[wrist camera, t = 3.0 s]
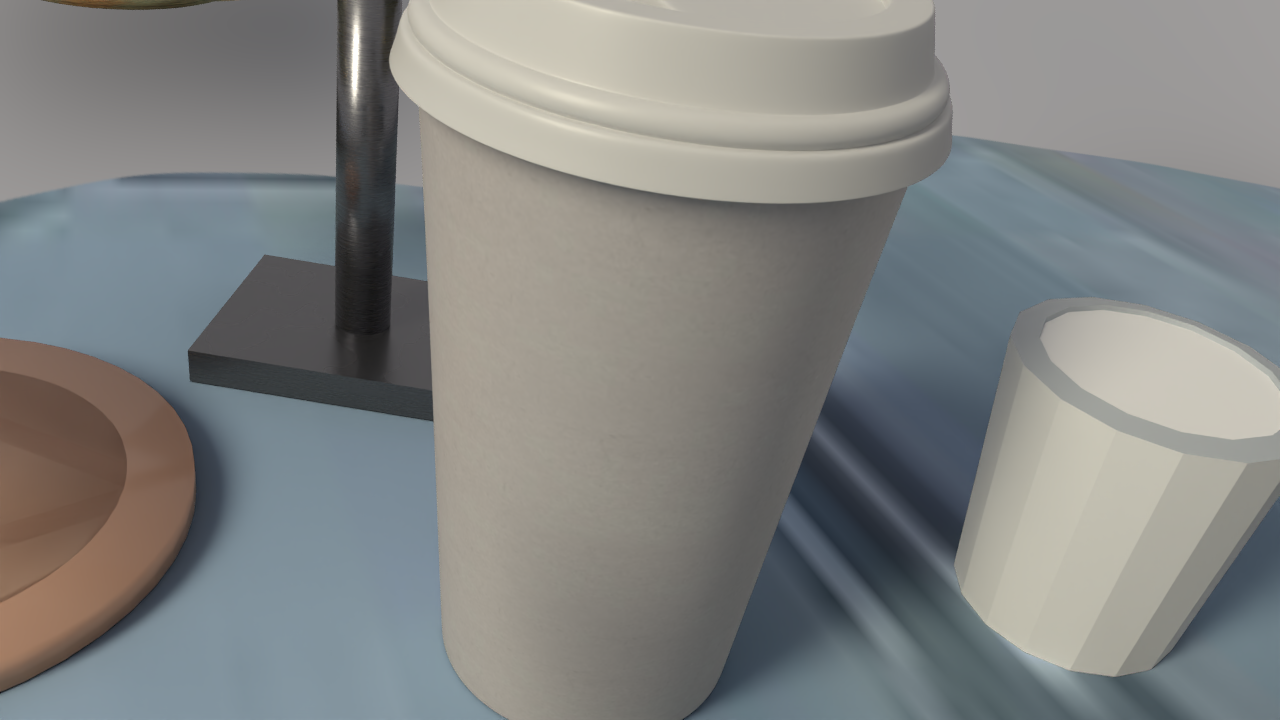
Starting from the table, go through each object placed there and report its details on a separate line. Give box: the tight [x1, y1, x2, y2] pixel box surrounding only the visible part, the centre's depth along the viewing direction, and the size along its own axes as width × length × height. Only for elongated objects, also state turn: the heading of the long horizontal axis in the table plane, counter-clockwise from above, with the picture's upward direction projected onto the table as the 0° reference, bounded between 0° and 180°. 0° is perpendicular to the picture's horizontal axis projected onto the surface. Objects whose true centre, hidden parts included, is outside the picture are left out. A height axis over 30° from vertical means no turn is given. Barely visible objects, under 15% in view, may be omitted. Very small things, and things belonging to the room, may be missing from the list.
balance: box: [43, 0, 434, 421], centre depth 32 cm, size 19×6×14 cm, turn 85°
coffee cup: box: [389, 0, 953, 720], centre depth 23 cm, size 10×10×15 cm
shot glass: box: [954, 297, 1280, 677], centre depth 29 cm, size 7×7×7 cm
